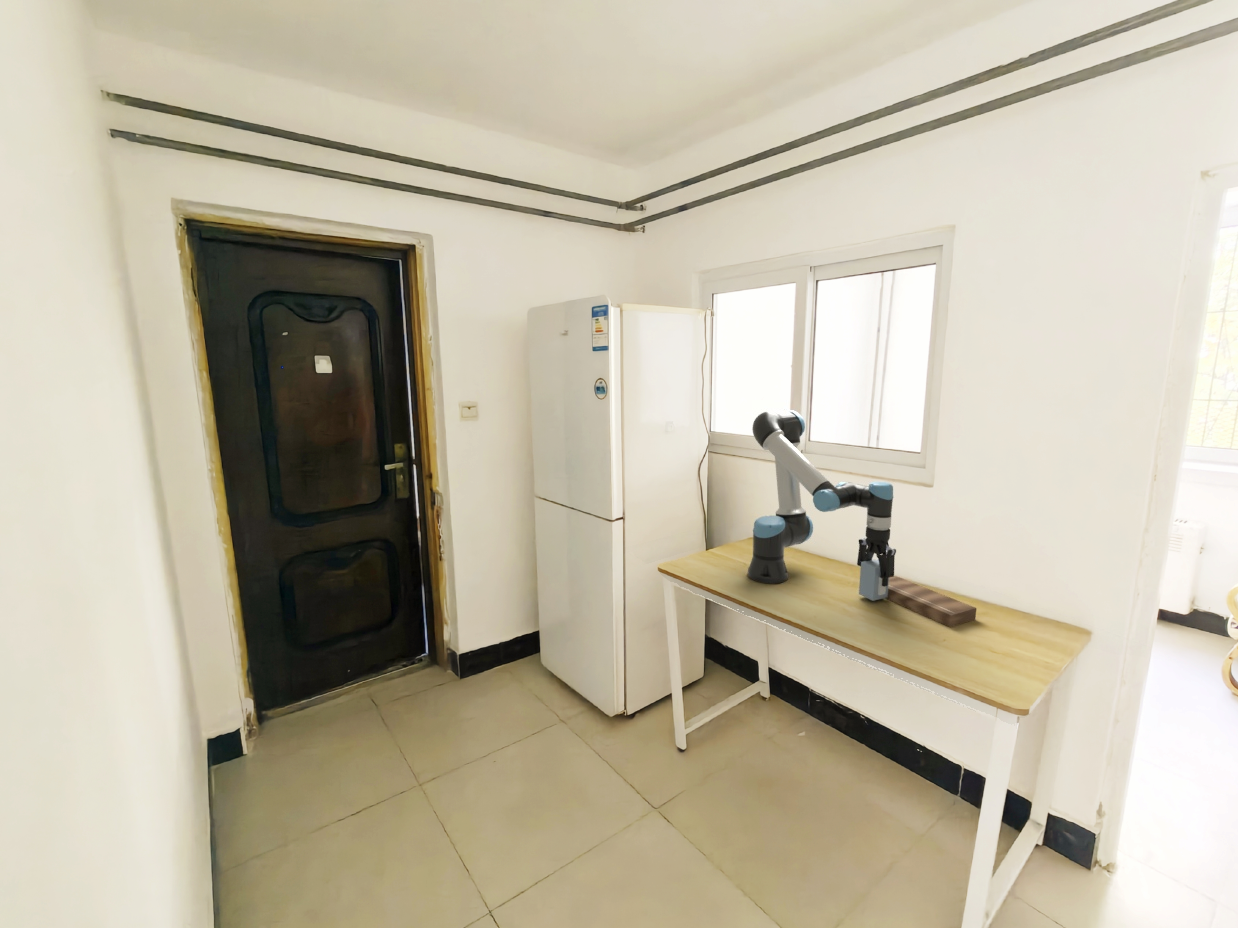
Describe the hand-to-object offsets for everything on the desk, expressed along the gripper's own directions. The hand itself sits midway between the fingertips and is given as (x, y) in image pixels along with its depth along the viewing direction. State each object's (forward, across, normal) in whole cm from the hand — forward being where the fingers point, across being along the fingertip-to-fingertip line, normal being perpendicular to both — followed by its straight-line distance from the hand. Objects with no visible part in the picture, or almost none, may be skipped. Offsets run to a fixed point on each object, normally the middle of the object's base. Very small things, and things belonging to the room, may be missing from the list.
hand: (873, 590), depth 186 cm
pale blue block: (+2, 0, +2) cm, 3 cm away
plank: (+3, +10, +10) cm, 15 cm away
